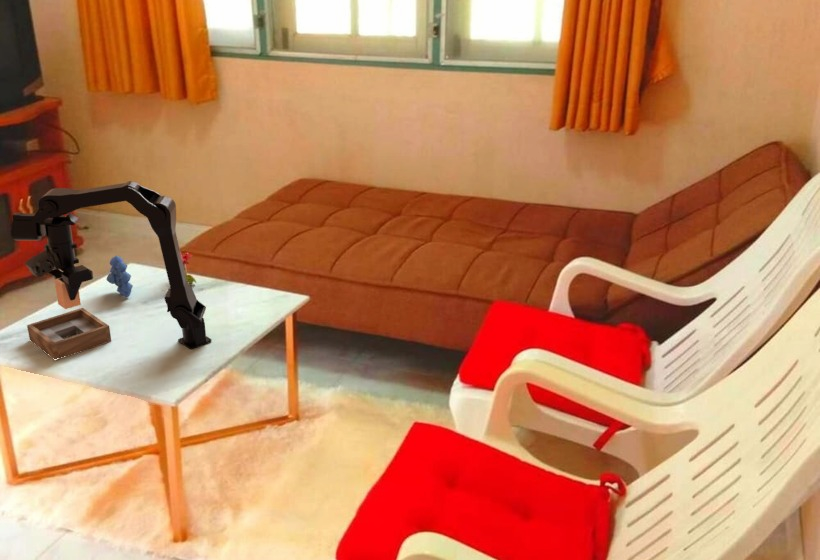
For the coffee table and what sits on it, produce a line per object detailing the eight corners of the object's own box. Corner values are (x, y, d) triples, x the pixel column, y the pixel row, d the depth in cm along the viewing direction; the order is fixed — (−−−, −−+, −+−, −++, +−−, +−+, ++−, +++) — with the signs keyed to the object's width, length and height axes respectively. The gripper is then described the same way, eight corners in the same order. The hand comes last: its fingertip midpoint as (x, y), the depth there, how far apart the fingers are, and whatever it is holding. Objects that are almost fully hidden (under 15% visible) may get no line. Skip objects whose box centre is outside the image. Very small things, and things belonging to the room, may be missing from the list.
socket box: (111, 340, 204) (109, 325, 202) (55, 360, 194) (52, 345, 192) (84, 322, 213) (82, 307, 211) (29, 340, 203) (26, 325, 201)
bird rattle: (170, 289, 239) (181, 287, 232) (161, 254, 238) (171, 251, 231) (189, 284, 243) (200, 282, 236) (180, 250, 242) (191, 247, 235)
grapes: (102, 291, 232) (96, 254, 227) (124, 285, 236) (119, 249, 231) (116, 305, 224) (110, 267, 219) (138, 299, 227) (134, 261, 223)
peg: (80, 304, 198) (77, 279, 195) (65, 309, 195) (61, 284, 192) (73, 299, 200) (69, 275, 197) (58, 304, 197) (54, 279, 195)
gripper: (10, 237, 191) (20, 294, 197) (44, 259, 179) (54, 319, 186) (55, 227, 198) (63, 282, 205) (90, 247, 187) (98, 305, 193)
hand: (68, 297), depth 197 cm, fingers closed on peg, 4 cm apart
